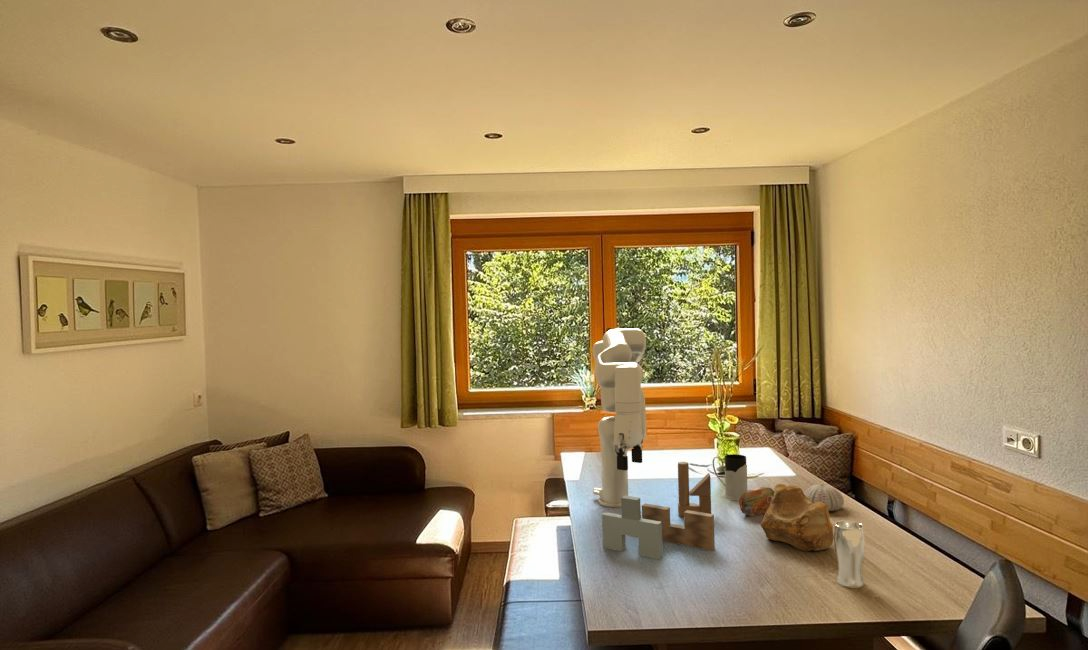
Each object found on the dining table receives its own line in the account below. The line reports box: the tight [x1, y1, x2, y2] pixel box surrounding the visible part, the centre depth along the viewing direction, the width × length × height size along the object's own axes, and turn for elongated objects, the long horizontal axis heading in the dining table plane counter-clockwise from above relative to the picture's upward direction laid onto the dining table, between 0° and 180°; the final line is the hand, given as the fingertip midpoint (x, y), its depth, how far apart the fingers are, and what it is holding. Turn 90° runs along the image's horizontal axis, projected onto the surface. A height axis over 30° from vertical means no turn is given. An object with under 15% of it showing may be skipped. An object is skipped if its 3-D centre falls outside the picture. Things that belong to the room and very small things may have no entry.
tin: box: [739, 486, 774, 517], centre depth 215 cm, size 15×3×8 cm, turn 117°
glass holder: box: [712, 453, 748, 502], centre depth 235 cm, size 9×14×15 cm, turn 41°
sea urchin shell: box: [803, 483, 845, 512], centre depth 219 cm, size 13×14×8 cm
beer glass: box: [833, 519, 866, 589], centre depth 160 cm, size 7×7×15 cm
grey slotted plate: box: [601, 495, 664, 560], centre depth 185 cm, size 18×2×16 cm, turn 57°
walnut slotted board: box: [641, 503, 716, 551], centre depth 191 cm, size 22×2×10 cm, turn 57°
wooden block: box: [677, 461, 712, 517], centre depth 215 cm, size 4×11×18 cm, turn 83°
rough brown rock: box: [760, 483, 834, 553], centre depth 189 cm, size 23×17×15 cm
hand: (629, 466), depth 184 cm, fingers open, 9 cm apart
